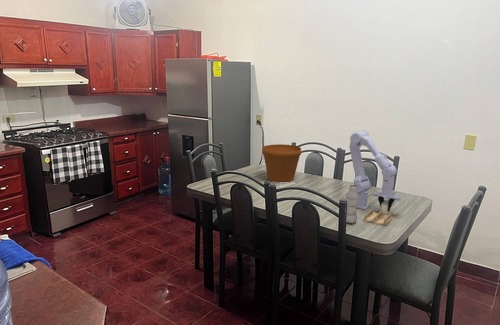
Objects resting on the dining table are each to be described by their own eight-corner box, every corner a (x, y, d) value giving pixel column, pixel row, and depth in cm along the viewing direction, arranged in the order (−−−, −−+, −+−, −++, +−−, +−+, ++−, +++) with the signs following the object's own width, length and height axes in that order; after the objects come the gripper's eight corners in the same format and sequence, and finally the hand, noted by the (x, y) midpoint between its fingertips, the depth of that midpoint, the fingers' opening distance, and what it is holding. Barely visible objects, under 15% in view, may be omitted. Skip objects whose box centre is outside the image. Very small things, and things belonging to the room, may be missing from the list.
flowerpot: (292, 187, 249) (293, 153, 243) (255, 181, 260) (256, 149, 255) (304, 177, 273) (306, 146, 267) (270, 172, 285) (271, 143, 279)
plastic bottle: (354, 219, 193) (357, 184, 188) (358, 224, 187) (361, 188, 182) (342, 219, 193) (344, 184, 188) (346, 225, 186) (348, 188, 182)
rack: (362, 221, 192) (363, 215, 191) (370, 213, 202) (370, 208, 201) (386, 226, 185) (386, 220, 184) (392, 218, 196) (392, 213, 195)
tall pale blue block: (380, 215, 200) (381, 203, 198) (383, 211, 206) (384, 199, 204) (386, 216, 198) (387, 204, 197) (389, 212, 204) (390, 200, 202)
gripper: (372, 186, 199) (370, 209, 202) (399, 191, 191) (397, 215, 194) (375, 183, 205) (373, 206, 208) (402, 188, 197) (400, 211, 200)
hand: (385, 210), depth 201 cm, fingers closed on tall pale blue block, 3 cm apart
